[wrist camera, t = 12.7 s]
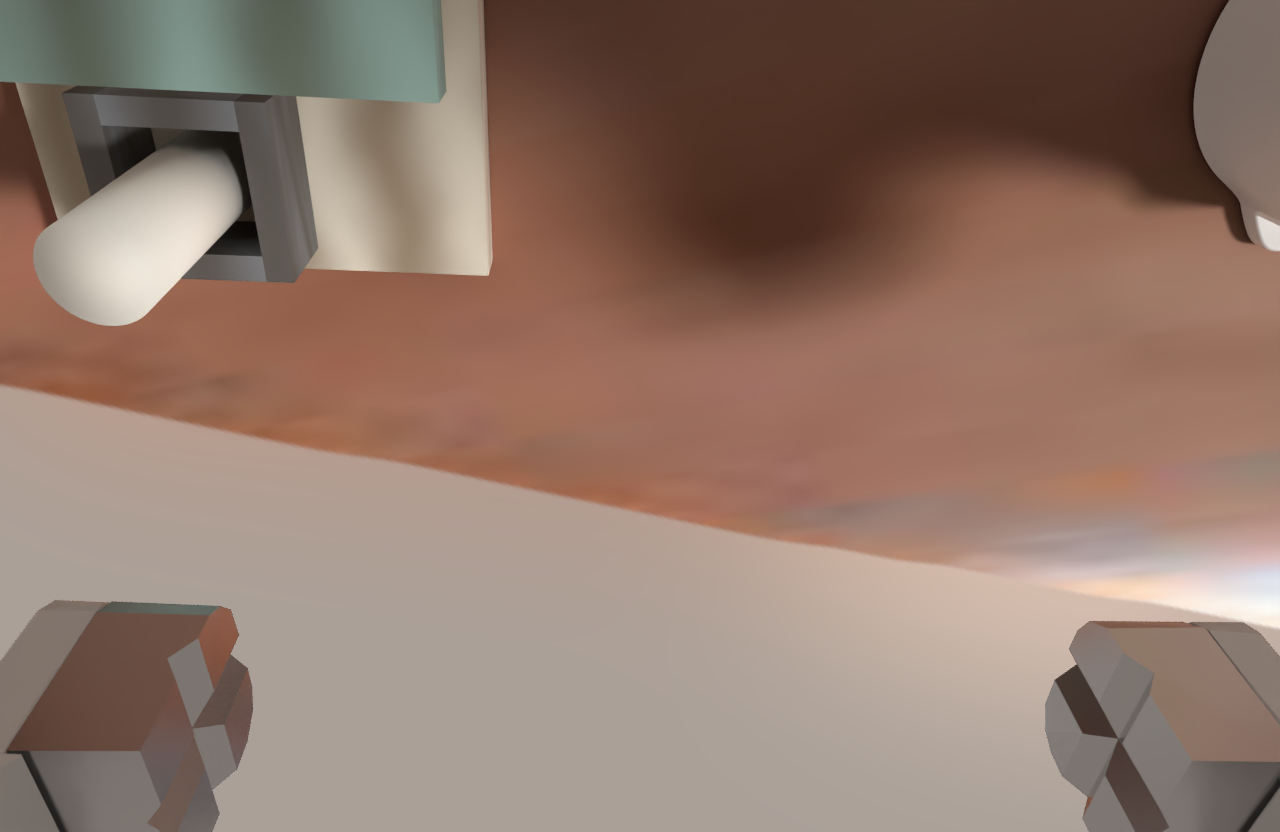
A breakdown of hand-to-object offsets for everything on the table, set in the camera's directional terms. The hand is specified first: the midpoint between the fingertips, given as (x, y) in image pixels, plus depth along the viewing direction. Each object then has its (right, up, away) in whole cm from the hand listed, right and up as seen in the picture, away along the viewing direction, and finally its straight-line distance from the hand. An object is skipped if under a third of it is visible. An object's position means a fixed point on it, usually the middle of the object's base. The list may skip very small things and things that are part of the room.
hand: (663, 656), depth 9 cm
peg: (-19, +14, +32) cm, 40 cm away
